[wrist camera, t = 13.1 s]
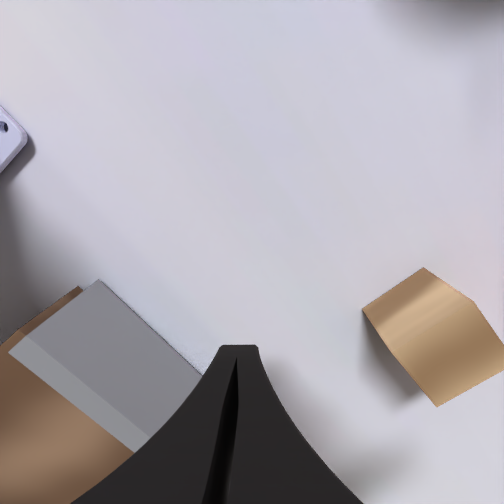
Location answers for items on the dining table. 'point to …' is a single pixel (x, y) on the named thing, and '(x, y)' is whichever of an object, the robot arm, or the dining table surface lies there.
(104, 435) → the housing
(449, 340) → the block
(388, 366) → the dining table surface
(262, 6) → the dining table surface
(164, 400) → the tray
